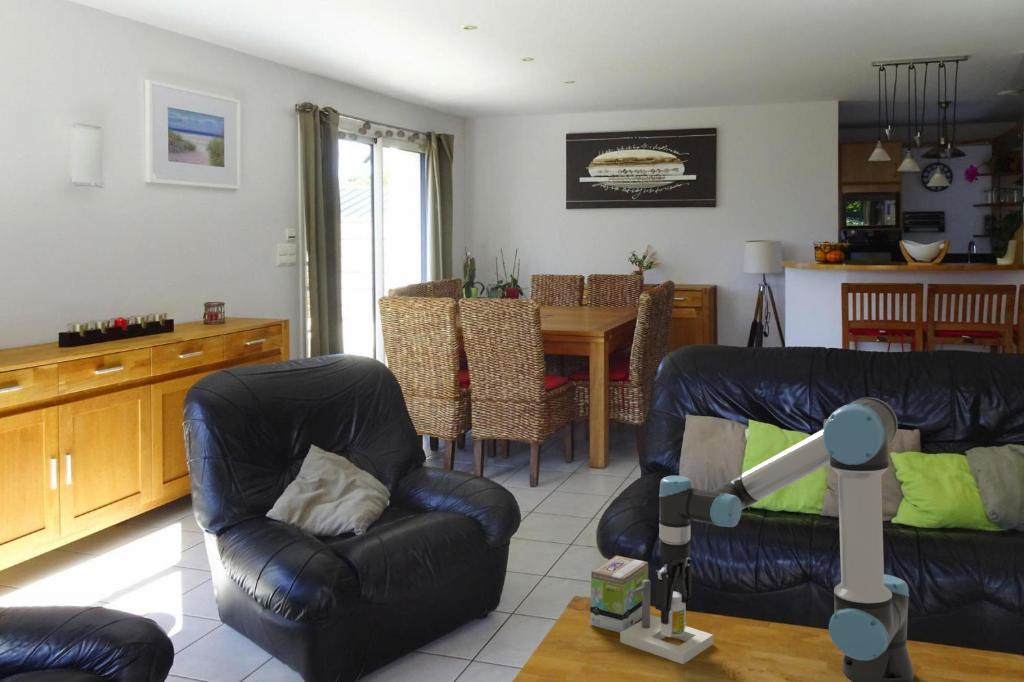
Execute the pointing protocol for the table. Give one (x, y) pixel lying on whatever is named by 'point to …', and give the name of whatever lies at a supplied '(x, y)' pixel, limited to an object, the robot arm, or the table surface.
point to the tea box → (617, 593)
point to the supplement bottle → (677, 614)
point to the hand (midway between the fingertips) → (673, 631)
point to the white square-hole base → (650, 637)
